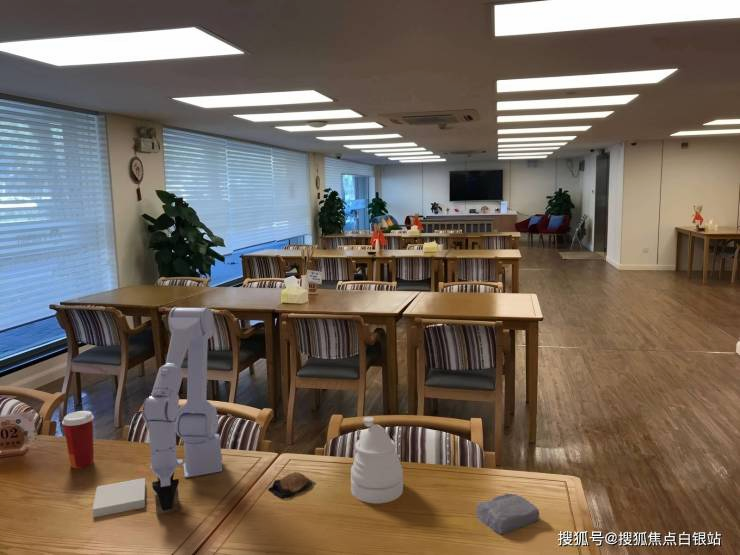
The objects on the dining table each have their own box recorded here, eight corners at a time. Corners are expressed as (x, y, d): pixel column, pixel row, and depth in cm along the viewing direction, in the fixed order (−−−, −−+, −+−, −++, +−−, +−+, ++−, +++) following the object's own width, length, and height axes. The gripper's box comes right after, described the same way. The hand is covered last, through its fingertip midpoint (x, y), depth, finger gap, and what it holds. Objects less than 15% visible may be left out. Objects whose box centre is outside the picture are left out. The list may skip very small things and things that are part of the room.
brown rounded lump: (297, 475, 146) (296, 462, 146) (318, 486, 140) (318, 472, 140) (264, 491, 139) (263, 477, 138) (285, 503, 133) (284, 489, 132)
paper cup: (103, 457, 157) (99, 410, 155) (87, 470, 149) (82, 421, 147) (77, 456, 158) (72, 409, 156) (59, 469, 150) (54, 420, 148)
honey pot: (342, 497, 134) (340, 426, 132) (363, 473, 146) (361, 407, 143) (392, 507, 129) (391, 434, 127) (409, 481, 141) (409, 413, 139)
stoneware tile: (145, 485, 141) (145, 477, 141) (144, 507, 131) (144, 499, 131) (97, 494, 137) (96, 486, 137) (93, 517, 127) (92, 509, 127)
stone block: (472, 523, 126) (501, 538, 117) (470, 501, 126) (499, 514, 117) (512, 510, 132) (543, 523, 123) (510, 490, 132) (541, 501, 123)
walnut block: (178, 500, 134) (177, 480, 134) (179, 510, 130) (178, 490, 129) (156, 504, 132) (154, 484, 132) (156, 515, 128) (154, 495, 127)
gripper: (183, 456, 124) (186, 512, 125) (180, 431, 137) (183, 482, 139) (148, 461, 121) (153, 519, 123) (149, 435, 134) (153, 488, 136)
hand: (167, 500), depth 131 cm, fingers open, 7 cm apart
